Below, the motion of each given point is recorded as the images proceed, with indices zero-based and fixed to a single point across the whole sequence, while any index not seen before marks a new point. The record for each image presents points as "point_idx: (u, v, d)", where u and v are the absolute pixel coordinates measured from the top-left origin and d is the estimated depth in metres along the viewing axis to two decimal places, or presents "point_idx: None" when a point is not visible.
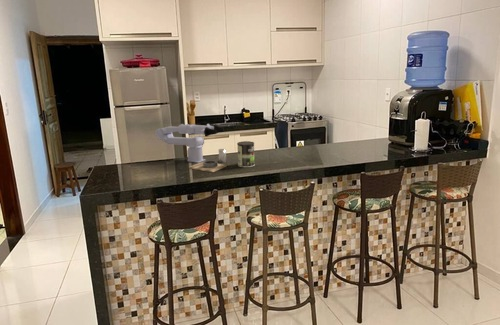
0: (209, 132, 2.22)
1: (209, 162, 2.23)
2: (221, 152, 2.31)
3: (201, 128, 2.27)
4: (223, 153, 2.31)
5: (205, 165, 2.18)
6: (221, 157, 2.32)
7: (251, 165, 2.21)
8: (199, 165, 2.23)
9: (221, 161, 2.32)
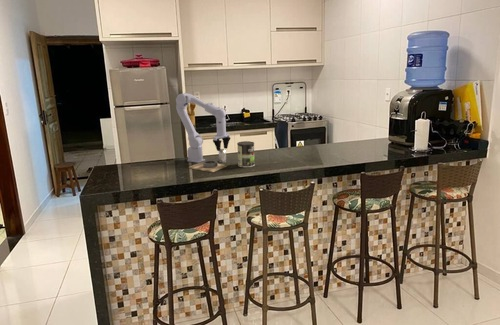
0: (217, 143, 2.28)
1: (209, 162, 2.23)
2: (221, 152, 2.31)
3: (220, 131, 2.27)
4: (223, 153, 2.31)
5: (205, 165, 2.18)
6: (221, 157, 2.32)
7: (251, 165, 2.21)
8: (199, 165, 2.23)
9: (221, 161, 2.32)
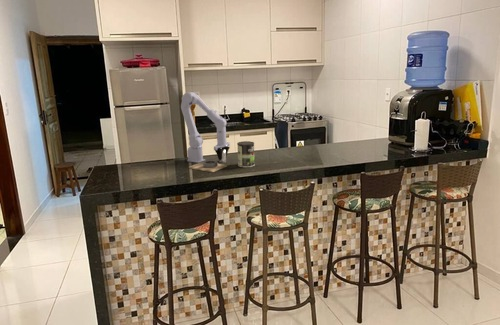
0: (218, 152, 2.31)
1: (209, 162, 2.23)
2: None
3: (221, 140, 2.28)
4: (223, 153, 2.31)
5: (205, 165, 2.18)
6: None
7: (251, 165, 2.21)
8: (199, 165, 2.23)
9: (221, 161, 2.32)
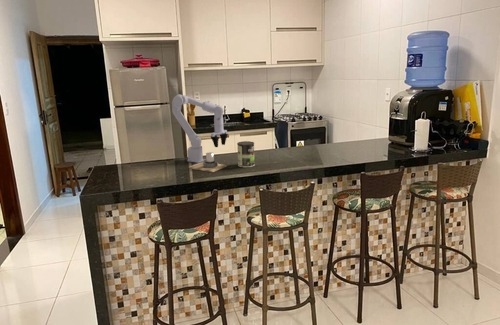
0: (214, 139, 2.32)
1: None
2: (208, 156, 2.17)
3: (218, 127, 2.31)
4: (211, 157, 2.18)
5: (205, 165, 2.18)
6: (209, 161, 2.18)
7: (251, 165, 2.21)
8: (199, 165, 2.23)
9: None
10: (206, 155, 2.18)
